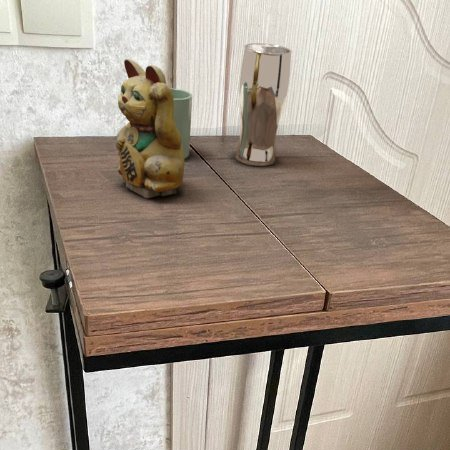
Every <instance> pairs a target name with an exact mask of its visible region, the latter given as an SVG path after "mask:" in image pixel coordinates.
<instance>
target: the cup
mask: <svg viewBox="0 0 450 450" xmlns="http://www.w3.org/2000/svg"><path fill="white" fill-rule="evenodd" d="M170 89H171V91H172V94H173V100H174V122H175V125H176V128H177V130H178V131H179V133H180V135H181V144H182V147H183V150H184V160H185V159H186V158H188V157H189V156H190V146H191V132H192V131H191V130H192V127H191V126H192V111H193V110H192V109H193V93H191V92H190V91H187V90H184V89H180V88H173V87H170Z"/></svg>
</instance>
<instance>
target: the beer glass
mask: <svg viewBox="0 0 450 450" xmlns="http://www.w3.org/2000/svg"><path fill="white" fill-rule="evenodd" d="M292 53H293V51H292V49H290V48H288V47H286V46H281V45H279V44H278V45H277V44H271V43H259V42H257V43H256V42H255V43H246V44H245V45H244V47H243V54H242V60H241V66H240V74H239V82H238V83H239V85H238V102H239V103H238V104H239V117H240V118H239V120H240V132H239V139H238V144H237V148H236V150H235V151H236V152H235V155H234V156H235V159H236V161H237V162H240V163H242V164H243V165H247V166H251V167H253V166H254V167H268V166H271V165H273V164H274V163H275V162H276V138H277V132H278V129H279V125H280V121H281V118H282V115H283V111H284V109H285V104H286V100H287V97H288V91H289V85H290V77H291V63H292Z"/></svg>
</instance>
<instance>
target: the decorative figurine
mask: <svg viewBox="0 0 450 450" xmlns="http://www.w3.org/2000/svg"><path fill="white" fill-rule="evenodd" d="M123 64H124V70H125V72H126V76H127V79H125V80H124V81H123V82H122V83H121V86H120V94H119V95H118V97H117V106H118V109H119V110H120V112H121V114H122V115H123V116H125V118H126V120H127V121H128V122H127V124H126V125H124V126H123V127H122V128H120V129H119V130H118V132H117V134H116V137H115V138H116V139H115V146H116V150H117V153H118V156H119V165H118V167H117V172H118V174H119V175H120V176H122V180H123V181H125V187H126V188H128V189H129V190H130V191H131V192H134V193H136V194H138V195H139V196H141V197H143V198H145V199H151V198H155V197H158V196H161V197H164V196H170V195H174V194H178V191H177V189H178V188H179V187H181V186H182V184H183V181H184V175H185V159H184V150H183V147H182V144H181V135H180V133H179V131H178V130H177V128H176V125H175V122H174V100H173V94H172V91H171V89H170V88H171V87H170V85H168V83H167V80H166V75H165V74H164V72H163V70H162V69H161V68H160V67H158V66H157V65H154V64H150V65H147V66H146V67H145V70H144V68H143V67H142V66H141V65H140V64H138V63H137V62H136V61H134V60H132V59H129V58H127V59H124V61H123Z"/></svg>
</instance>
